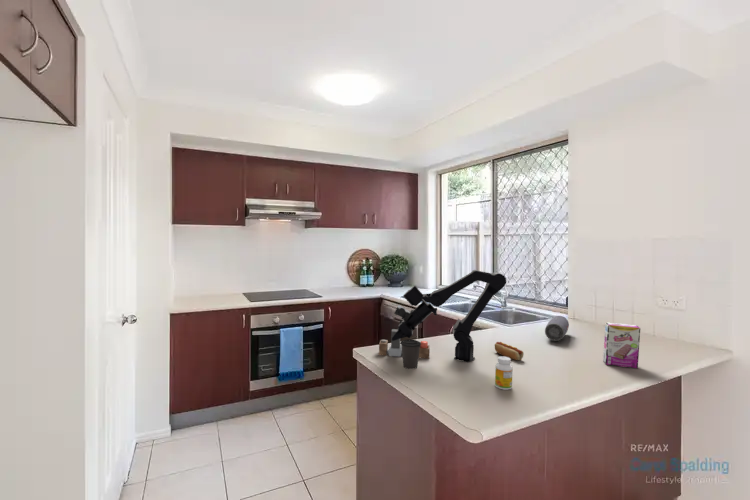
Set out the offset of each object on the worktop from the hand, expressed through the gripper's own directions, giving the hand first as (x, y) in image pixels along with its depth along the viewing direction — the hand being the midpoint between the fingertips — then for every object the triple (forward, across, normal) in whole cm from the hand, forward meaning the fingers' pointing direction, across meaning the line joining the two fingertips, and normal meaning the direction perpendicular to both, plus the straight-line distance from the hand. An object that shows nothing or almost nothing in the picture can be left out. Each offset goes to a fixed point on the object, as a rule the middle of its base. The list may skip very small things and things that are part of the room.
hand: (392, 338), depth 154 cm
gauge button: (-6, 0, +13) cm, 14 cm away
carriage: (+4, 0, +6) cm, 7 cm away
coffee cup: (-1, +13, +11) cm, 17 cm away
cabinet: (-5, 0, +14) cm, 15 cm away
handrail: (+2, 0, +8) cm, 8 cm away
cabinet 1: (+7, 0, +2) cm, 8 cm away
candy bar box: (-60, -6, +69) cm, 91 cm away
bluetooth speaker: (-51, -43, +61) cm, 90 cm away
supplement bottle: (-24, +26, +33) cm, 48 cm away
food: (-29, -8, +39) cm, 50 cm away
